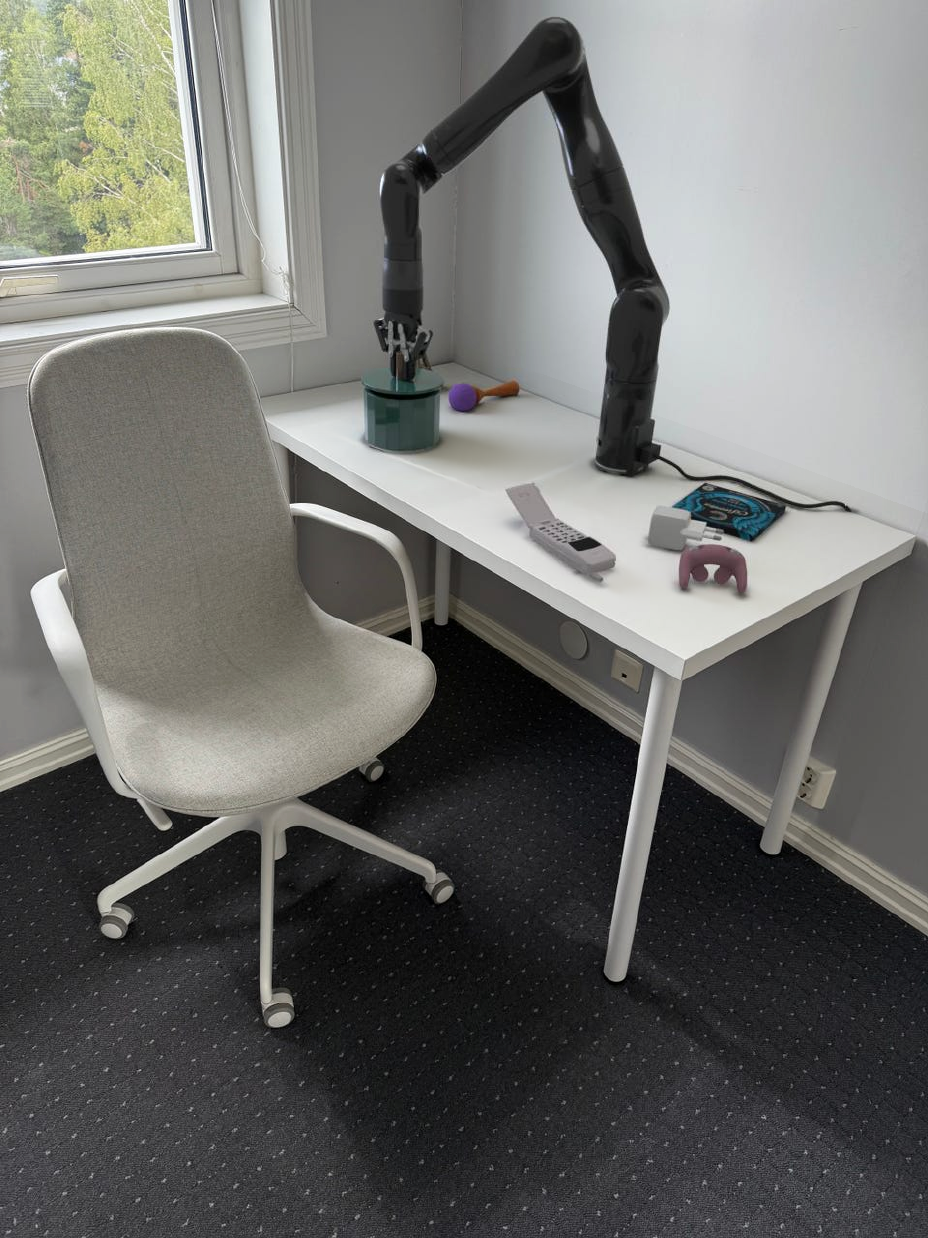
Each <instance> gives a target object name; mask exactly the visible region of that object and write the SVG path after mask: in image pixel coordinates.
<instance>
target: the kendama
mask: <svg viewBox="0 0 928 1238" xmlns="http://www.w3.org/2000/svg"><path fill="white" fill-rule="evenodd" d="M520 389H521V388H520V384H519V382H517V381H516V380H511V381H507V382H505V383H503V384H499V385H497V386H494V387H491V388H489V389H486V390H482V389H480V388H479V387H477V386H474V385H470V384H468V383H465V382H462V383H457V384H455V385H454V386H453V387H452V388H450V390H449V392H448V402H449V405H450V406H451V408H452V409H453V410H455V411H457V412H468V411H470V410H472V408H474V407H475V406H477V405H478V404H479V403H480V402H481V401H482V399H484V398H485V397H509V396H518V394H519V393H520Z"/></svg>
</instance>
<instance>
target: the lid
mask: <svg viewBox="0 0 928 1238" xmlns="http://www.w3.org/2000/svg"><path fill="white" fill-rule="evenodd" d="M404 361H405V360H404V354H403V350H402V351H397V352H396V377H393V376H392V375H391V371H390V366H389V367H380V368H376V369H372V370H369V371H366V372H365V373H364V374H363V375H362V376H361V380H360V381H361V384H362V385H363V386H364V387H367V388H369V389H371V390H374V391H378V392H382V393H388V394H400V395H411V394H422V393H428V392H432V391H435V390H437V389H439V388H441V387H442V386H444V384H445V378H444V377H443V376H442V375H441V374H440V373H437V372H435V371H434V370H433V371H430V370H426V369H421V368H415V377H414V379H413V380H410V381H406V380H404Z"/></svg>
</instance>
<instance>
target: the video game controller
mask: <svg viewBox="0 0 928 1238" xmlns="http://www.w3.org/2000/svg"><path fill="white" fill-rule="evenodd" d="M705 565H714V566H719V567H718V568H717V569H716V570H715V571H714V572H713V573H714V574H713V579H714V581H715V582H716V583H717V584H719V585H725V584H727V583H728V582H729V581H730V579H731V578H732V577H734V579H735V585H736V588H737V592H738V593H739V595H744V594H745V592H746V590H747V587H748V567H747V560H746V558H745V556H744V555H743V553H741V552H740V551H739V550H737V549H735V548H732V547H729V546H726V545H722V544H715V543H714V544H713V543H709V544H707V543H704V544H697V545H692V546H690V547H687V548H685V549H684V550H682V552H681V554H680V557H679V564H678V583H679V587H680V589H681V590H682V591H685V590H686V591H687V588H688V586H689V584H690V580H691V577H692V579H693V581H695V582H697V583H704V582H706V581H707V580H708V579H709V575H710V574H709V569H708V568H707V567H706V566H705Z"/></svg>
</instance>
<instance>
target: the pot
mask: <svg viewBox="0 0 928 1238" xmlns="http://www.w3.org/2000/svg"><path fill="white" fill-rule="evenodd" d="M363 406H364V407H363V417H364V418H363V419H364V420H363V421H364V423H363V424H364V439H365V440H366V443H368V444H370V445H371V446H369V447H370V448H371V449H375V450H377V451H381V452H383V453H385V452H386V451H395V452H413V451H418V450H426V449H428V448H431V447H433V446H435V445H436V444H437V443H439V442H440V429H441V428H440V426H441V425H440V423H441V422H440V420H441V391H440V388H439V389H437V390H435V391H432V392H428V393H422V394H411V395H400V394H388V393H382V392H378V391H374V390H371V389H369V388H367V387H365V386H364V387H363ZM384 450H386V451H384Z"/></svg>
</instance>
